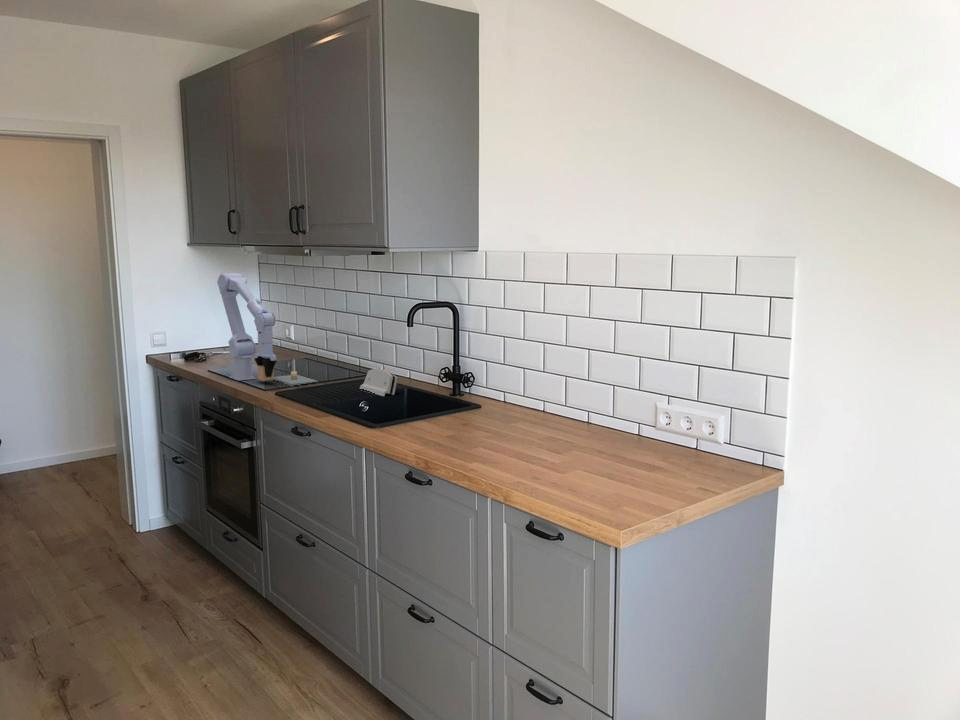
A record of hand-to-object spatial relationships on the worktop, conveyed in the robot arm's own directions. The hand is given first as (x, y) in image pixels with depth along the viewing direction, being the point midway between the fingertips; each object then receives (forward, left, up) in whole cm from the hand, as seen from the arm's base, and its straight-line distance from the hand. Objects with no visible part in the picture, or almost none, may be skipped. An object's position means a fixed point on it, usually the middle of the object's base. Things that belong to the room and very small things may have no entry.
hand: (265, 375), depth 321 cm
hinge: (+41, +27, -3) cm, 49 cm away
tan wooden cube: (0, 0, -1) cm, 1 cm away
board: (+3, +11, -3) cm, 12 cm away
